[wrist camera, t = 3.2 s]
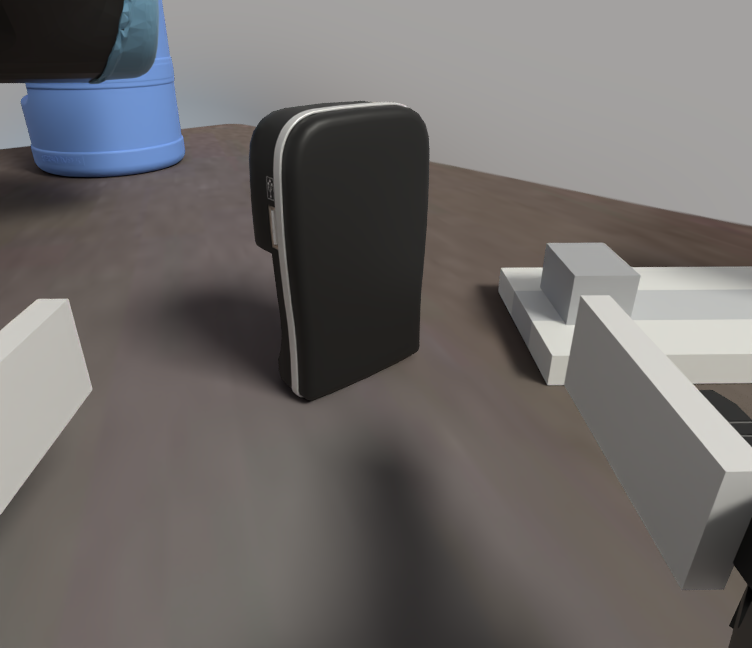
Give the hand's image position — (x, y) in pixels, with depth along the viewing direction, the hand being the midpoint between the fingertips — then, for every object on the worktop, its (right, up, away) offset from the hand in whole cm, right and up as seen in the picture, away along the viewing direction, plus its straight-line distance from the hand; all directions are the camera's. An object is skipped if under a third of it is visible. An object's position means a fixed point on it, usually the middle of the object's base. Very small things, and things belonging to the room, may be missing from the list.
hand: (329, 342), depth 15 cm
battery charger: (0, -2, +12) cm, 12 cm away
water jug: (-28, +19, +50) cm, 60 cm away
